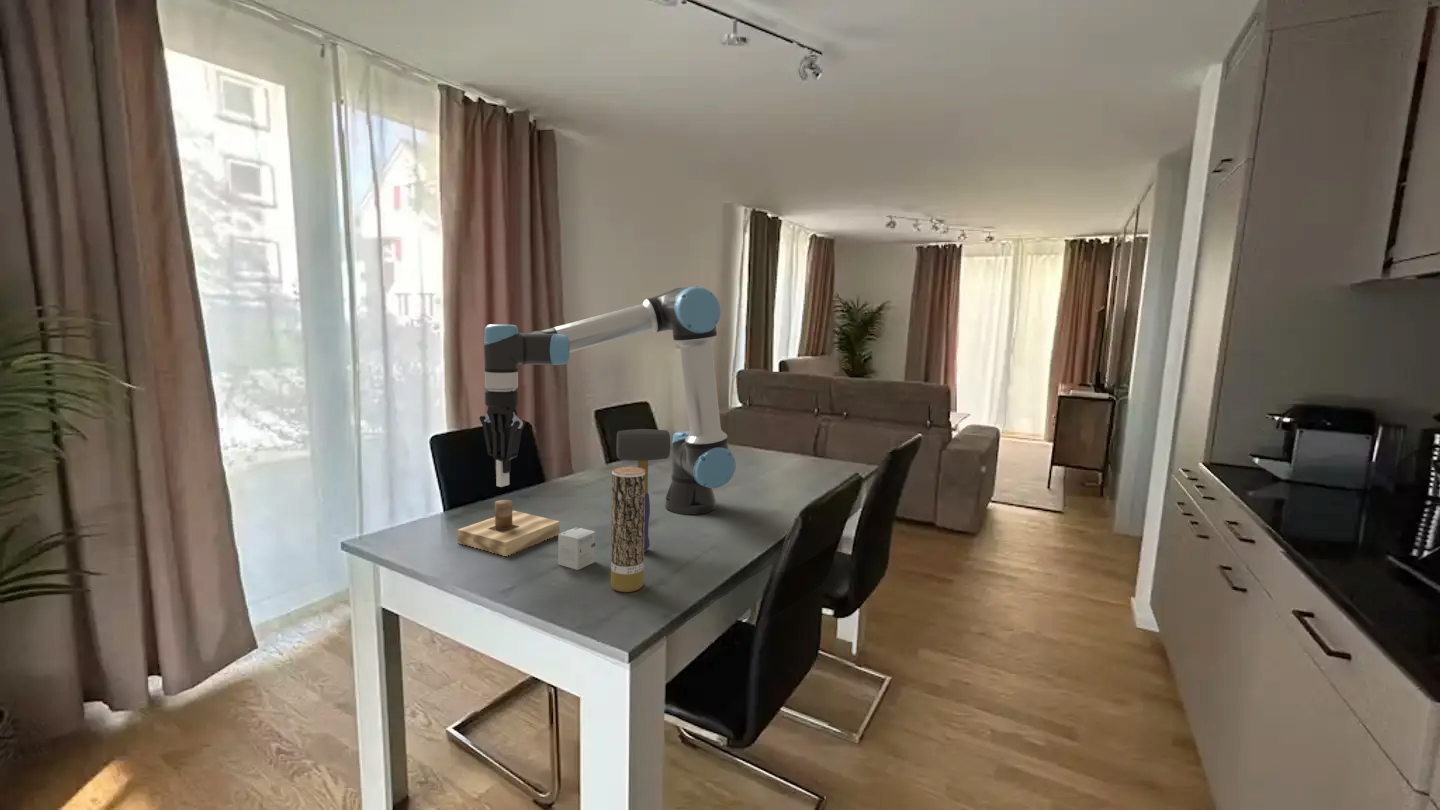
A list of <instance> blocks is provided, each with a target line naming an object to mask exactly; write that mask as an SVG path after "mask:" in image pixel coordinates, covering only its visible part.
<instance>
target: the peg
mask: <svg viewBox="0 0 1440 810" xmlns="http://www.w3.org/2000/svg"><path fill="white" fill-rule="evenodd" d="M512 511H513V501H512V500H510V499H499V500H496V501H494V517H495V531H498V532H502V533H504V532H507V531H510V530H512Z"/></svg>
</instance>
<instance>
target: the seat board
mask: <svg viewBox="0 0 1440 810" xmlns="http://www.w3.org/2000/svg"><path fill="white" fill-rule="evenodd" d="M560 526H561V525H560V520H556V519H552V518H547V517H543V516H539V515H533V514H529V513H527V512H522V511H518V510H512V530H510V531H507V532H504V533H502V532H498V531H495V516H494V517H491V518H487V519H485V520H482V521H479V522H476V523H472V524H469V525H468V526H464V527H461V528H458V529H457V544H458V543H459V544H460V545H462V544H463V545H462V546H465V545H467V546H466V547H469V546H471V547H470V548H472V547H474V548H473V549H476V548H478V549H477V550H479V549H481V550H480V551H483V550H485V551H484V552H486V551H489V552H488V553H490V552H492V553H491V554H493V553H495V554H494V555H497V554H499V555H498V556H500V555H502V556H501V557H504V556H507V557H509V556H512V555H514V554H517V553H519V552H521V551H523V549H524V550H526V549H528V547H529V548H531V547H532V546H533V547H534V546H536V545H537V544H540V543H542V541H543V542H544V540H545V541H547V539H548V540H550V539H552V538H554V536H555V537H558V534H560V533H561V532H560V529H561V527H560ZM549 538H550V539H549ZM459 544H458V545H459ZM535 544H536V545H535ZM530 546H531V547H530ZM518 551H519V552H518ZM516 552H517V553H516ZM513 553H514V554H513ZM511 554H512V555H511ZM508 555H509V556H508Z"/></svg>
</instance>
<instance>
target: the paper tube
mask: <svg viewBox="0 0 1440 810" xmlns="http://www.w3.org/2000/svg"><path fill="white" fill-rule="evenodd" d="M645 475H646V473H645V469H642V468H638V466H621V467H615V468H613V469H612V471H611V527H610V529H611V532H610V534H611V535H610V536H611V537H610V539H611V540H610V541H611V544H610V545H611V546H610V585H611V586H610V587H612V589H613V590H615V592H619V593H620V592H621V593H633V592H636V591H638V590H640V589H641V588H642V587H643V585H644V572H645V571H644V568H645V552H644V529H645Z"/></svg>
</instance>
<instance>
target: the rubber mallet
mask: <svg viewBox="0 0 1440 810" xmlns="http://www.w3.org/2000/svg"><path fill="white" fill-rule="evenodd" d="M670 435H671V434H670V432H669V430H666V429H655V428H654V429H653V428H652V429H650V428H647V429H646V428H637V429H625V430H618V431H617V433H616V439H615V440H616V442H615V443H616V447H615V448H616V449H615V450H616V458H617V459H618V460H622V461H637V467H638V468H642V469H645V473H646V475H645V529H644V553H646V552H648V549H649V548H650V545H651V544H650V538H649V522H650V521H649V520H650V513H651V512H650V511H651V503H650V495H649V484H648V483H649V481H648V480H649V461H656V460H665V459H666V460H667V459H668V458H669V457H670V454H671V436H670Z"/></svg>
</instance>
